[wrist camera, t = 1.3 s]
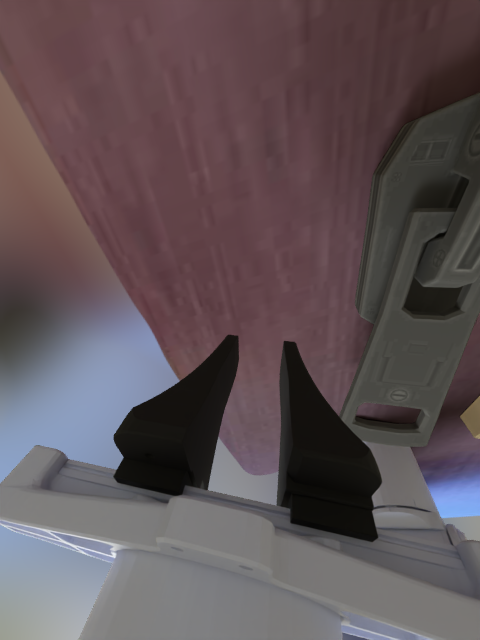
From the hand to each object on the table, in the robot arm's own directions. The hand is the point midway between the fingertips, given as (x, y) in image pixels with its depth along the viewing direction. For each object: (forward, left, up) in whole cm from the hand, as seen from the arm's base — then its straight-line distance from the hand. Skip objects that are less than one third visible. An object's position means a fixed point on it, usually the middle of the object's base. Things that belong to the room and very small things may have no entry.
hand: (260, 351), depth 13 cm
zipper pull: (0, -11, -10) cm, 15 cm away
